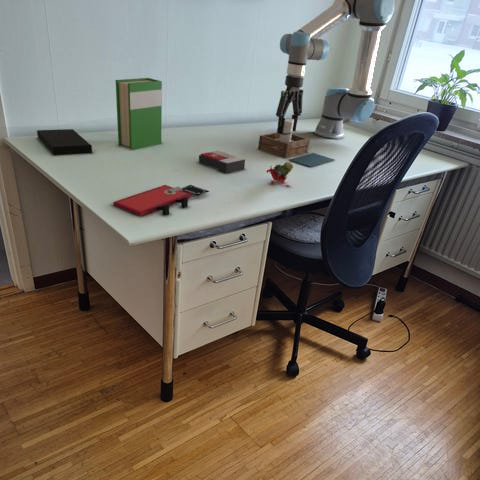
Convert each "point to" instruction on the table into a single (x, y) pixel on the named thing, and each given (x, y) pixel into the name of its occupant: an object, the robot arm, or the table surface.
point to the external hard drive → (64, 142)
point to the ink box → (287, 130)
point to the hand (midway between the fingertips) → (286, 131)
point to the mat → (311, 160)
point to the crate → (283, 145)
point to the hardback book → (139, 112)
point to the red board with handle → (158, 199)
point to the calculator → (222, 161)
